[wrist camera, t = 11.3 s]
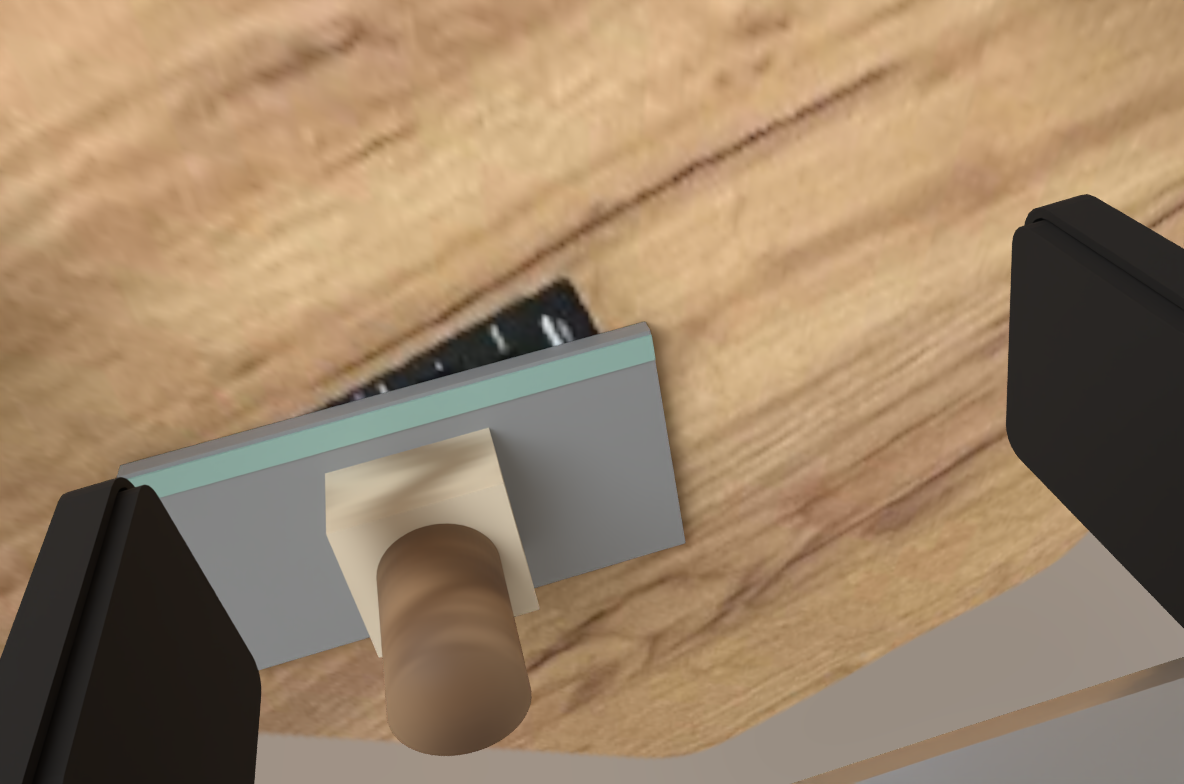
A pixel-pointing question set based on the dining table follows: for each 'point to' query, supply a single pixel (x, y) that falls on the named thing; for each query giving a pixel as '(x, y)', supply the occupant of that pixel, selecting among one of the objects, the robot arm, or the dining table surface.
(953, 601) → the dining table surface
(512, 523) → the birch pedestal
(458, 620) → the walnut drum
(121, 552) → the robot arm
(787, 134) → the dining table surface
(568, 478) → the slate board
